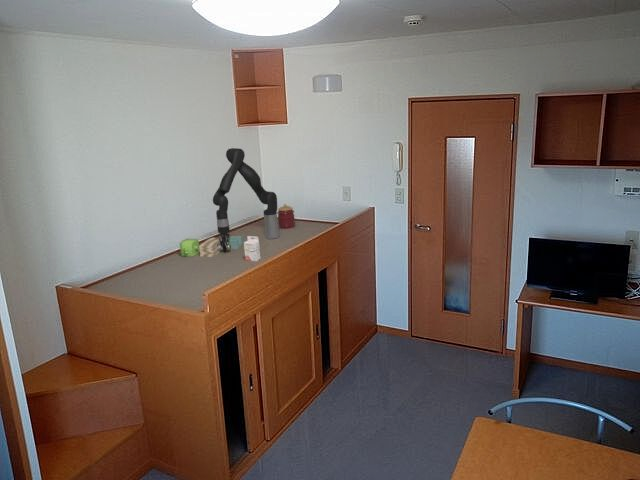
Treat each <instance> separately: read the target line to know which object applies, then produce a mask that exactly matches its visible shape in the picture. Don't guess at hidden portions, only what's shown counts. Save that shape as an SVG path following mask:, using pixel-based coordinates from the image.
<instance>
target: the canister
mask: <svg viewBox="0 0 640 480" xmlns="http://www.w3.org/2000/svg"><path fill="white" fill-rule="evenodd" d="M294 213H295V211H294V209H293V207H291V206H289V205H288V206H287V204H283V205H282V206H281V207H279V208H277V222H278V224H279V229H292V228H295V226H296V222H295V221H296V220H295V214H294Z"/></svg>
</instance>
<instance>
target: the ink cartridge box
mask: <svg viewBox="0 0 640 480" xmlns="http://www.w3.org/2000/svg"><path fill="white" fill-rule="evenodd" d="M246 238H247V240H246V241H243V248H244V259H245V261H248V262H259V261H260V260H261V250H260V241H259V237H258V236H254V235H253V236H252V235H247V236H246ZM259 259H260V260H259Z"/></svg>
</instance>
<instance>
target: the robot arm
mask: <svg viewBox="0 0 640 480" xmlns="http://www.w3.org/2000/svg"><path fill="white" fill-rule="evenodd" d="M245 155H246V154H245V151H244V150H243V149H242V148H233V147H231V148H228V149H227V150H226V152H225V157H226V158H227V160H228V162H229V163H230V164H231V165H230V167H229V168H228V169H227V171H226V172H225V173H224V175H223V176H222V178H221V181H220V183H219V186H218V189H216V192H215V193H214V195H213V197H212V203H213V205H215V206H216V207H219V208H218V209H217V210H216V225H217V233H218V234H220V237H218V238H219V240H220V244H221V246H223V250H222V251H223V252H224V253H225V252H227V251H228V250H227V248H226V245H228V244H229V240H230V237H231V236H230V231H231V230H230V224H229V217H228V216H229V215H228V209H229V199H228V197H227V196H226V194H228V193H229V192H230V190H231V188H232V184H233V183H234V182H233V181H234V179H235V177H236V175H237V173H239V174H240V175H241V177H242V178H243V179H244V181H245V182H246V183H247V184H248V185H249V186H250V188H251V189H252V191H253V192H254V193H255V195H256V197H257V198H258V199H259V201H260V203H261V204H263V205H267V208H266V209H264V210H263V219H264V220H263V222H264V230H265V239H267V240H274V239H275V240H276V239H279V237H280V234H281V233H280V228H279V224H278V213H277V212H278V196H277V194H276V192H274V191H266V189H265V188H264V187H263V185H262V181H261V177H260V175H259V174H258V172H257V171H256V170H255V169H254V168H253V167H251V166H250V165H248V164H247V163H245V161H244V160H245Z"/></svg>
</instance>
